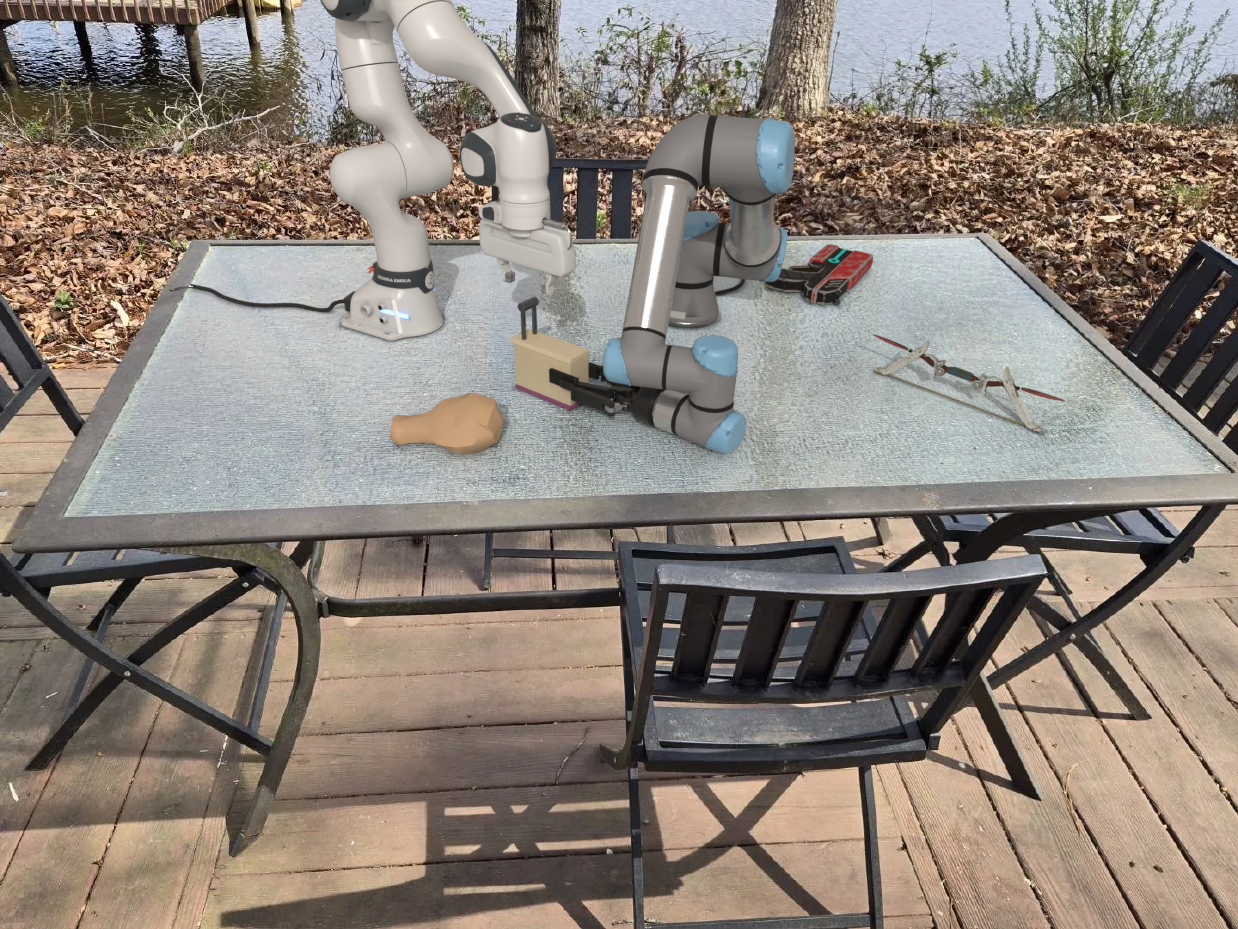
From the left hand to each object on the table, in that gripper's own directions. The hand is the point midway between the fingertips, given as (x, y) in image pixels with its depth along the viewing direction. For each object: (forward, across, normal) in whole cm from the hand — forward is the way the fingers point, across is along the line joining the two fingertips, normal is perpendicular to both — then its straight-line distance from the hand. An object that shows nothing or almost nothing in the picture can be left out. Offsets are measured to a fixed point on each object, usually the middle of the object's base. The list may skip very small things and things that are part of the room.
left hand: (528, 287), depth 162 cm
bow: (+21, -68, -48) cm, 86 cm away
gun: (+21, -20, -88) cm, 92 cm away
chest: (+21, -5, 0) cm, 21 cm away
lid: (+11, -5, 0) cm, 12 cm away
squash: (+21, -2, +26) cm, 33 cm away
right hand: (+14, -7, 0) cm, 16 cm away
